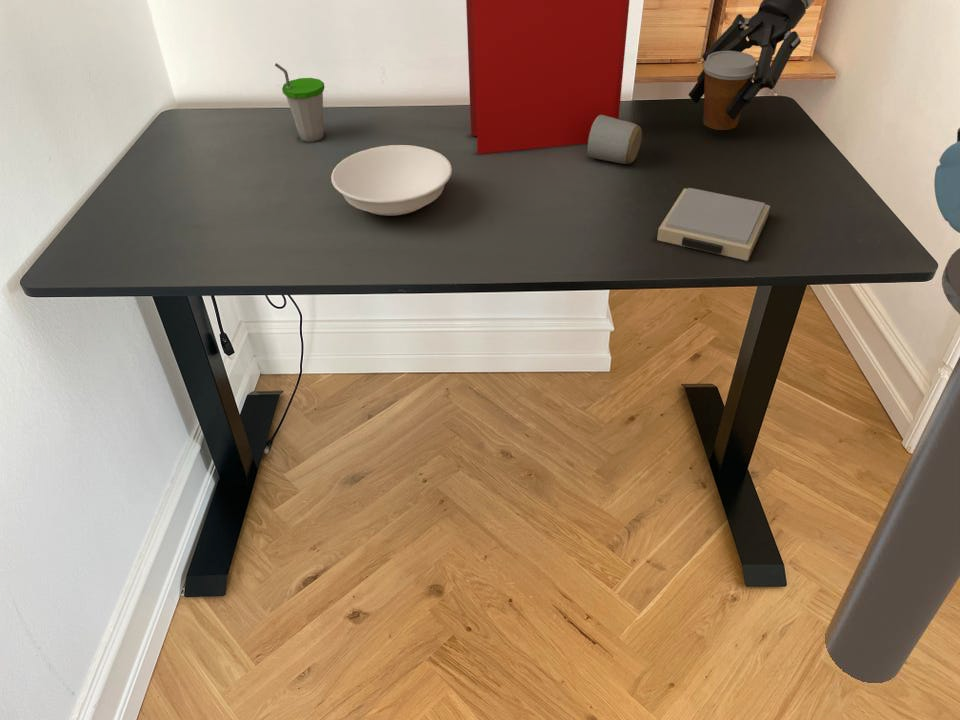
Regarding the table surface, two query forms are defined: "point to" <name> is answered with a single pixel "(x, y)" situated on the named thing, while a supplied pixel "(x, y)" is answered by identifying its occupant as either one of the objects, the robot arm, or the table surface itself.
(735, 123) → the disposable coffee cup
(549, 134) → the book
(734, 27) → the robot arm
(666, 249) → the table surface
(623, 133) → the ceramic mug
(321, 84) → the cup
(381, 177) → the bowl
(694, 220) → the scale
